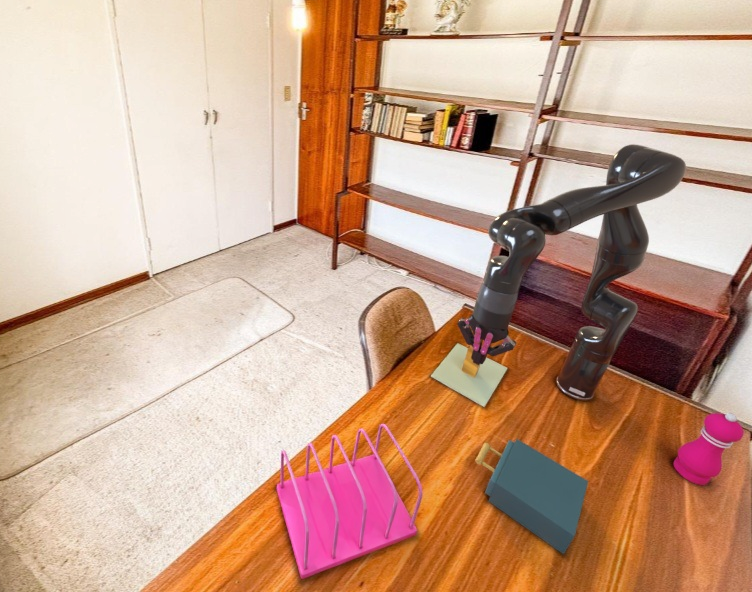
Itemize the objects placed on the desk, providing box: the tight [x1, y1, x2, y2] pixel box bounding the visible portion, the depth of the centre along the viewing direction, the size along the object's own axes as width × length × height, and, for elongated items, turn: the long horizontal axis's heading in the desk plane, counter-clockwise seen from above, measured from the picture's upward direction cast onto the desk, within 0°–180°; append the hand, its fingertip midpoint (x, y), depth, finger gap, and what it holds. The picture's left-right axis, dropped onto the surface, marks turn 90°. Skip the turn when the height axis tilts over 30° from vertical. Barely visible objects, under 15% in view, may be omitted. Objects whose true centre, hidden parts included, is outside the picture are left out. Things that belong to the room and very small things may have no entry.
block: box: [462, 345, 481, 378], centre depth 119 cm, size 3×4×9 cm
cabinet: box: [488, 438, 589, 555], centre depth 86 cm, size 15×15×7 cm
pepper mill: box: [672, 412, 744, 486], centre depth 90 cm, size 7×7×20 cm
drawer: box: [474, 439, 515, 497], centre depth 89 cm, size 18×13×5 cm
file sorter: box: [276, 423, 423, 580], centre depth 81 cm, size 17×25×16 cm
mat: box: [430, 342, 508, 408], centre depth 121 cm, size 20×16×1 cm
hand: (476, 362), depth 94 cm, fingers closed
